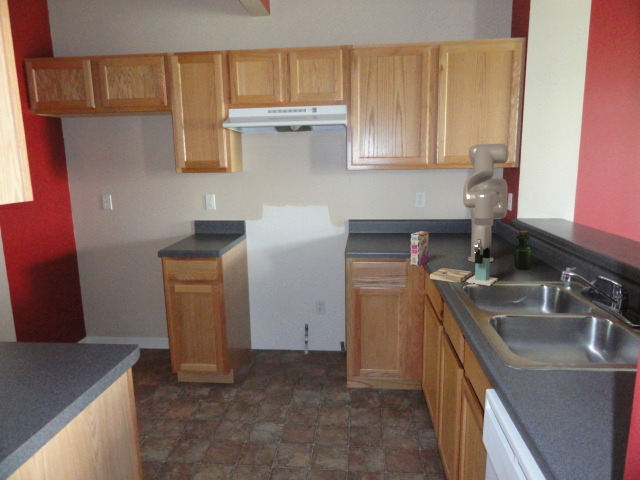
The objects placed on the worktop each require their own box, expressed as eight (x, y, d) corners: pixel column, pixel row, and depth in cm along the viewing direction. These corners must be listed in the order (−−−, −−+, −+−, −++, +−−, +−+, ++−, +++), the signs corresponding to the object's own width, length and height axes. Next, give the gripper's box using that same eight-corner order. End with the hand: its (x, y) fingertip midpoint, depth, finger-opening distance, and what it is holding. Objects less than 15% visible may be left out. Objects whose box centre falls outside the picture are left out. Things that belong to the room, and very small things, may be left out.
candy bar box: (419, 266, 222) (419, 234, 219) (410, 265, 225) (410, 233, 223) (428, 262, 231) (429, 231, 228) (420, 261, 234) (420, 230, 231)
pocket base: (442, 272, 209) (442, 268, 209) (471, 275, 201) (471, 271, 200) (429, 278, 198) (429, 274, 198) (460, 282, 190) (460, 278, 189)
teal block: (478, 277, 194) (479, 257, 192) (489, 278, 191) (489, 258, 190) (475, 279, 190) (475, 259, 189) (485, 281, 188) (486, 260, 186)
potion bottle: (533, 270, 207) (535, 232, 204) (514, 270, 208) (516, 232, 205) (528, 266, 215) (529, 229, 212) (510, 266, 216) (512, 230, 213)
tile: (474, 277, 198) (474, 275, 198) (497, 280, 192) (497, 278, 191) (466, 282, 190) (466, 280, 190) (490, 285, 184) (490, 283, 184)
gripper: (481, 218, 195) (480, 256, 199) (467, 224, 182) (466, 264, 185) (498, 219, 191) (497, 257, 194) (485, 225, 178) (484, 266, 181)
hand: (482, 261), depth 190 cm, fingers open, 9 cm apart
